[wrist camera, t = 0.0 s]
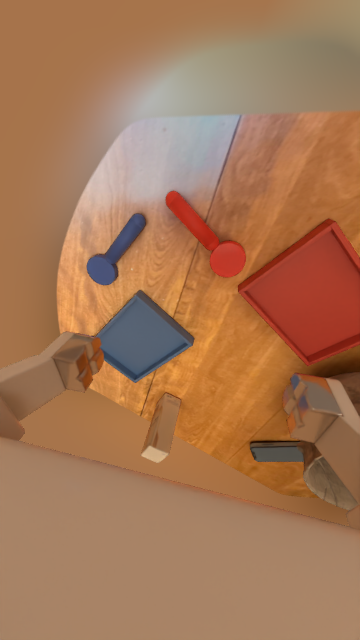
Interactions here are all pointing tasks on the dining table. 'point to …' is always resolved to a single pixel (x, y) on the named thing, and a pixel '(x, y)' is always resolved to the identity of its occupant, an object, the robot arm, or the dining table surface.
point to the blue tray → (142, 338)
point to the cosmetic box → (161, 429)
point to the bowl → (315, 465)
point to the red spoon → (208, 238)
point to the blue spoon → (115, 252)
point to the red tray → (311, 294)
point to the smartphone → (276, 452)
